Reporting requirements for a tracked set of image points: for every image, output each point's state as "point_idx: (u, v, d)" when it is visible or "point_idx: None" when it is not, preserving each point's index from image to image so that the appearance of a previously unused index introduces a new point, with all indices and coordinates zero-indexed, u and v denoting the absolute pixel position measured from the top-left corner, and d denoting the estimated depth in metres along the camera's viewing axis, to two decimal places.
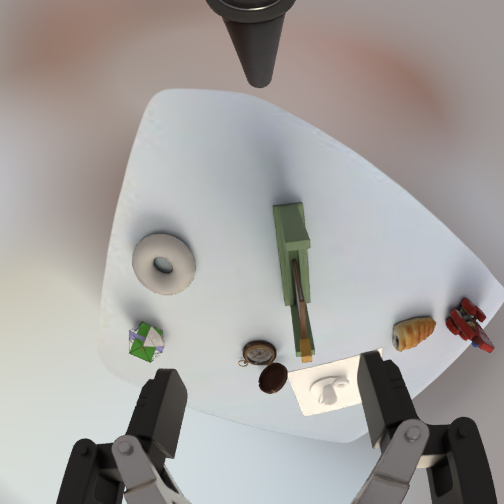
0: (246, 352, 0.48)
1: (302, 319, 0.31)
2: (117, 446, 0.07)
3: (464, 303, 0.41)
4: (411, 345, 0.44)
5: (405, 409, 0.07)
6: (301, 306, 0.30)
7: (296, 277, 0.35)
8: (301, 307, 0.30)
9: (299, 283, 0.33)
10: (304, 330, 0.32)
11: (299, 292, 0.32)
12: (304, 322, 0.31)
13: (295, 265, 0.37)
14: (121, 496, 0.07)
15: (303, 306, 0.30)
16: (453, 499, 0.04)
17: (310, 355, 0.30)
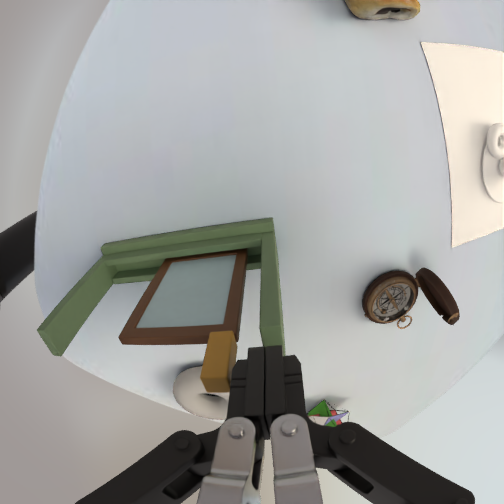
0: (379, 321, 0.26)
1: (158, 342, 0.14)
2: (229, 425, 0.08)
3: None
4: None
5: (295, 404, 0.09)
6: (129, 342, 0.14)
7: None
8: (131, 342, 0.14)
9: None
10: (188, 339, 0.14)
11: None
12: (165, 339, 0.14)
13: None
14: (194, 491, 0.07)
15: (128, 339, 0.14)
16: (383, 493, 0.05)
17: (202, 379, 0.11)
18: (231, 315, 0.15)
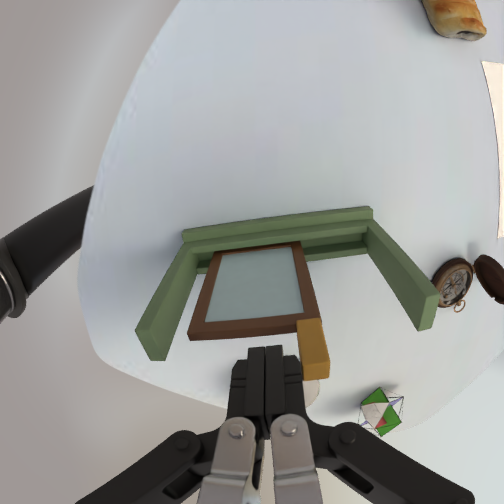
0: (442, 305, 0.25)
1: (235, 335, 0.14)
2: (229, 425, 0.08)
3: None
4: (472, 7, 0.09)
5: (295, 404, 0.09)
6: (199, 338, 0.14)
7: None
8: (202, 338, 0.14)
9: None
10: (270, 330, 0.14)
11: None
12: (244, 332, 0.14)
13: None
14: (194, 491, 0.07)
15: (199, 335, 0.14)
16: (383, 493, 0.05)
17: (303, 367, 0.11)
18: (310, 303, 0.15)
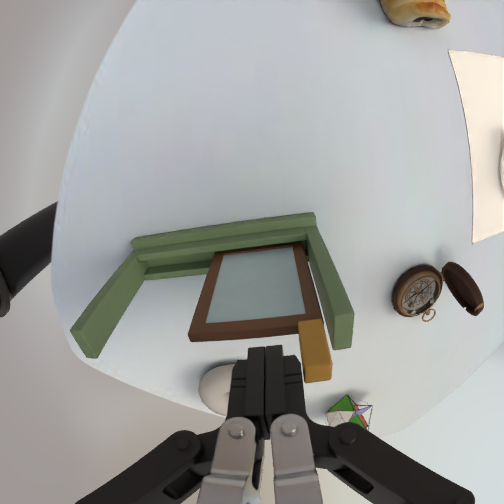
0: (407, 314, 0.25)
1: (237, 337, 0.14)
2: (229, 425, 0.08)
3: None
4: None
5: (295, 404, 0.09)
6: (200, 339, 0.14)
7: None
8: (203, 339, 0.14)
9: None
10: (271, 331, 0.14)
11: None
12: (246, 333, 0.14)
13: None
14: (194, 491, 0.07)
15: (200, 336, 0.14)
16: (383, 493, 0.05)
17: (305, 369, 0.11)
18: (311, 304, 0.15)
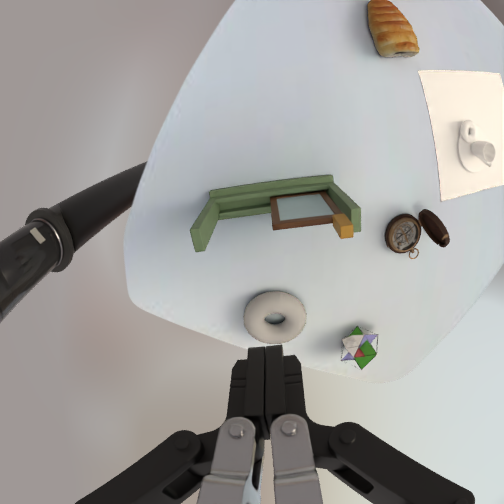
0: (397, 250, 0.37)
1: (300, 225, 0.26)
2: (229, 425, 0.08)
3: None
4: (407, 33, 0.22)
5: (295, 404, 0.09)
6: (279, 227, 0.26)
7: None
8: (281, 227, 0.26)
9: (271, 213, 0.29)
10: (318, 221, 0.25)
11: None
12: (305, 222, 0.26)
13: (270, 202, 0.33)
14: (194, 491, 0.07)
15: (279, 225, 0.26)
16: (383, 493, 0.05)
17: (340, 227, 0.23)
18: (337, 211, 0.26)
